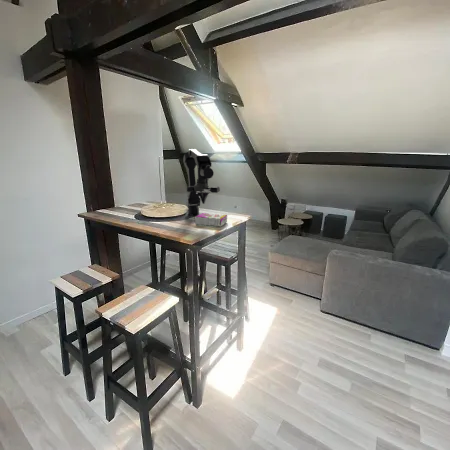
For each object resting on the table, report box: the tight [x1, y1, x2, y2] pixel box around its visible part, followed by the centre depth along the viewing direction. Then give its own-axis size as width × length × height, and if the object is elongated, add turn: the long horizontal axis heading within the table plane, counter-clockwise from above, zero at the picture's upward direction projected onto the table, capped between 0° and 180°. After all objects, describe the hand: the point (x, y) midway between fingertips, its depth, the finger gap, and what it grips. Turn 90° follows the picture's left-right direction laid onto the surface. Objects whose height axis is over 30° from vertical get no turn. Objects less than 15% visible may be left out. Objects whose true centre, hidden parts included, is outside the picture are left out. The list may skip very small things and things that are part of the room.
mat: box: [196, 224, 218, 228], centre depth 146 cm, size 12×13×1 cm
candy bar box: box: [194, 212, 228, 228], centre depth 144 cm, size 11×5×16 cm
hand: (203, 203), depth 143 cm, fingers closed
